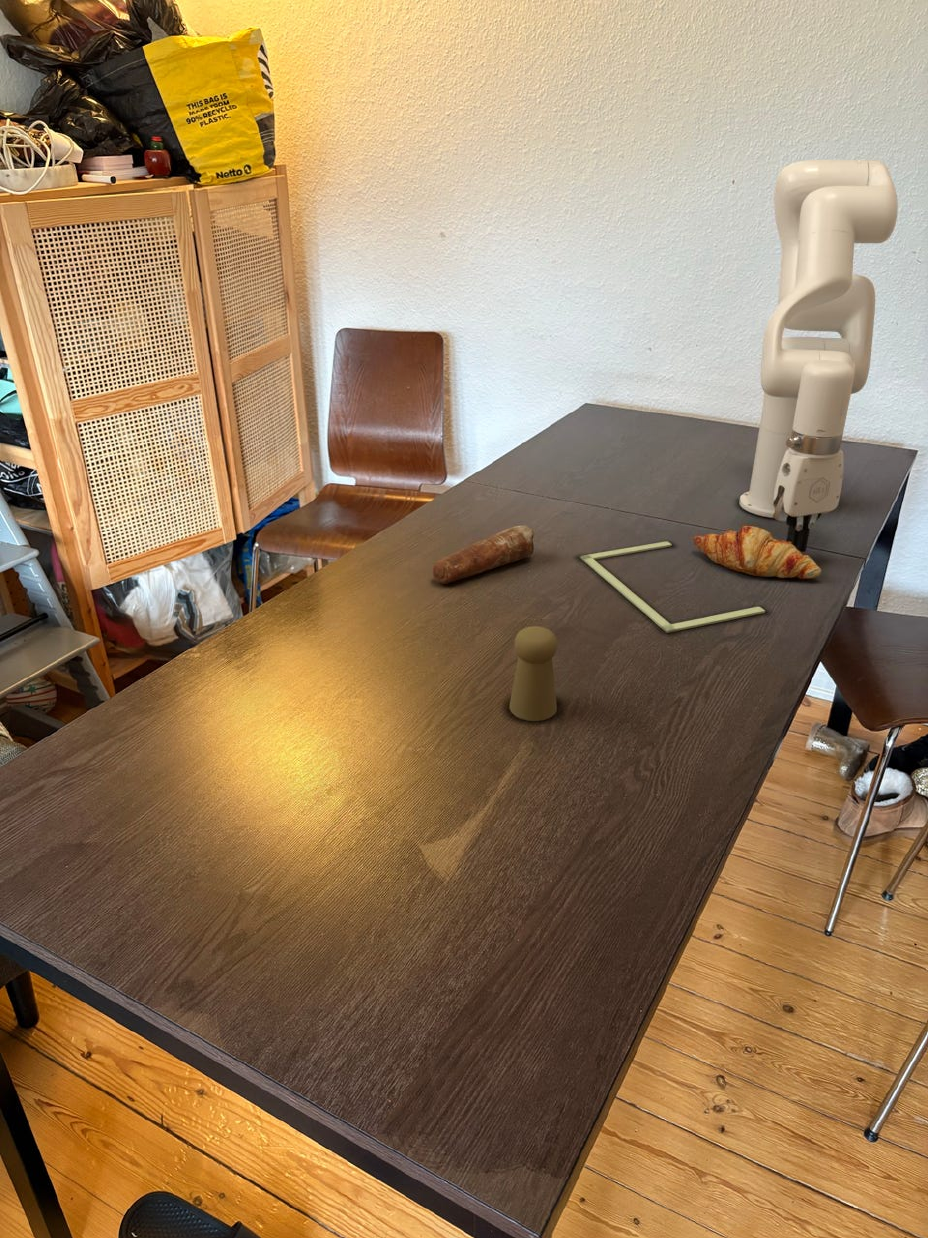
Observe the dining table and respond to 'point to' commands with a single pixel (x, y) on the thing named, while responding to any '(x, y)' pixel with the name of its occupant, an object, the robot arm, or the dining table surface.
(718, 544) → the croissant
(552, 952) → the dining table surface
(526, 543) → the bread
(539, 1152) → the dining table surface
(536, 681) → the tan game pawn
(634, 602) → the frame
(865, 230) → the robot arm
